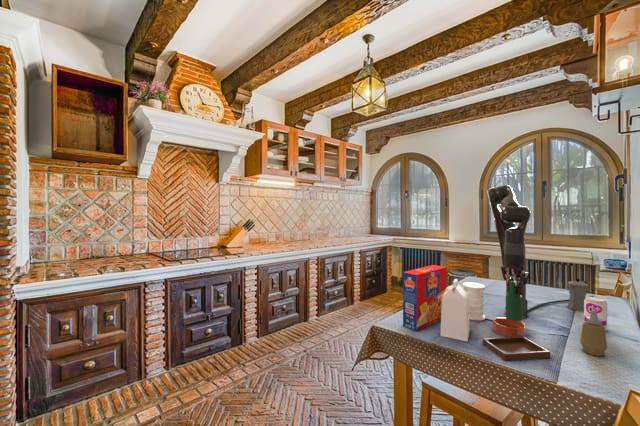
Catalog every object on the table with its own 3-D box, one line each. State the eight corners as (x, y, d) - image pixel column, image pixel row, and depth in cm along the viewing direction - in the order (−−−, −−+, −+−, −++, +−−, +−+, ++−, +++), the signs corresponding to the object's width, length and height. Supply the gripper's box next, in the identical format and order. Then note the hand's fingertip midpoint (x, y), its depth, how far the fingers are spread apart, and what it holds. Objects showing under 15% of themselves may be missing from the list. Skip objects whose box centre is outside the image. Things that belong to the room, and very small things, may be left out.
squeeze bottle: (574, 348, 123) (575, 307, 122) (592, 347, 124) (592, 306, 123) (594, 358, 115) (595, 314, 114) (612, 357, 115) (613, 313, 115)
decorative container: (488, 322, 151) (489, 288, 150) (465, 320, 153) (465, 287, 153) (480, 314, 162) (481, 282, 162) (459, 312, 165) (459, 281, 164)
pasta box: (416, 331, 141) (416, 275, 140) (403, 325, 147) (403, 272, 147) (446, 317, 158) (446, 267, 157) (433, 312, 164) (433, 264, 164)
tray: (523, 341, 129) (523, 336, 129) (550, 358, 115) (550, 351, 115) (482, 344, 127) (482, 338, 127) (504, 360, 114) (504, 354, 114)
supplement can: (602, 333, 137) (603, 302, 136) (580, 327, 144) (581, 297, 144) (609, 330, 140) (610, 299, 140) (588, 323, 148) (588, 295, 147)
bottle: (514, 315, 126) (515, 279, 126) (525, 320, 120) (526, 283, 120) (502, 315, 126) (502, 279, 125) (512, 321, 120) (513, 283, 119)
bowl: (511, 326, 145) (511, 316, 145) (532, 338, 132) (532, 327, 132) (486, 327, 144) (486, 317, 144) (505, 339, 131) (506, 329, 131)
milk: (467, 341, 130) (467, 285, 129) (440, 335, 136) (440, 281, 135) (469, 331, 140) (470, 279, 139) (444, 326, 146) (444, 276, 145)
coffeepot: (580, 313, 162) (581, 281, 162) (561, 307, 171) (562, 277, 171) (595, 309, 168) (596, 278, 168) (576, 303, 177) (576, 275, 177)
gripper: (536, 255, 115) (536, 297, 116) (510, 250, 129) (510, 287, 130) (519, 255, 115) (518, 298, 115) (494, 250, 129) (494, 288, 129)
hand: (514, 292), depth 123 cm, fingers closed on bottle, 3 cm apart
